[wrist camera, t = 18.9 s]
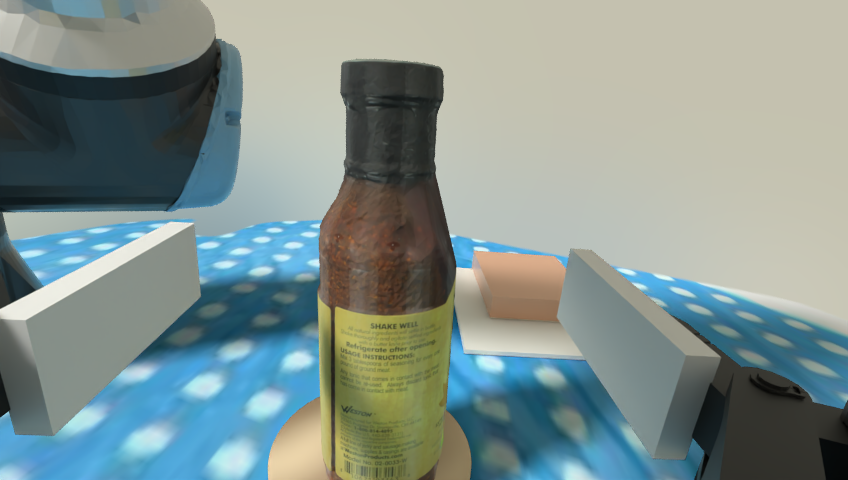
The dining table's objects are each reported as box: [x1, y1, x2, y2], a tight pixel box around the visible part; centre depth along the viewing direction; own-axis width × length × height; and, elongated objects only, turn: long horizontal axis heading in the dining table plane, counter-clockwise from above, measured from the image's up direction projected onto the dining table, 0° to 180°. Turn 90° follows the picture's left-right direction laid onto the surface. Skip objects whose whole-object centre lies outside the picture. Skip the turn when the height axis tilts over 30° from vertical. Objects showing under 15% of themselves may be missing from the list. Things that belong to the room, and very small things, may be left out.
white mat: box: [454, 268, 585, 360], centre depth 44 cm, size 18×16×1 cm
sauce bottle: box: [318, 59, 456, 480], centre depth 19 cm, size 6×6×20 cm
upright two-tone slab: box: [472, 251, 566, 322], centre depth 46 cm, size 2×10×12 cm
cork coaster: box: [268, 397, 472, 480], centre depth 24 cm, size 11×11×1 cm
